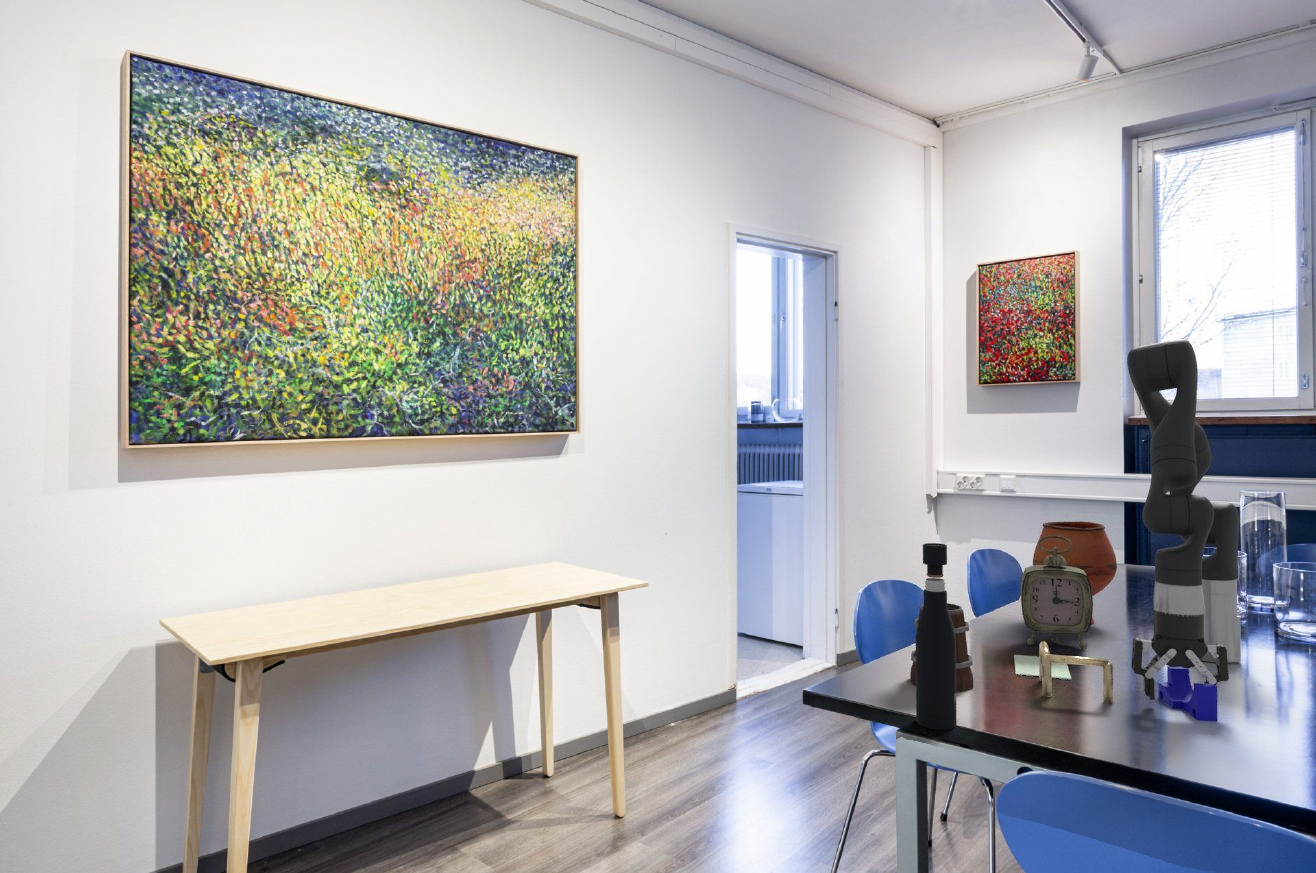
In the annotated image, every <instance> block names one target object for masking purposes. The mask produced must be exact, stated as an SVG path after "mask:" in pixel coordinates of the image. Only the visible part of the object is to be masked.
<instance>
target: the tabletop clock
mask: <svg viewBox="0 0 1316 873" xmlns="http://www.w3.org/2000/svg"><path fill="white" fill-rule="evenodd" d="M1048 538H1059V539H1063V540H1066V541H1067V542H1068V543H1069V544H1070V547H1069V549H1067V550H1063V551H1058V549H1057V548H1056V547H1054V548H1053V551H1049V550H1046V549H1043V548H1042V547H1041V546H1040V543H1041V542H1042V541H1043V540H1045V539H1048ZM1037 543H1038V546H1039V548H1040V549H1041V550H1042V551H1044V552H1046V553H1050V554H1053V555H1049V556H1047V557H1046V558H1045V559H1044V562H1043V565H1034V566H1033V565H1029V566H1027V567H1025V569H1024V570H1023V573H1022V576H1021V582H1020V603H1021V613H1022V619H1023V622H1024V624H1025V626H1026V628H1027V629H1029V630H1032V634H1031V637H1028V638H1027V639H1026V644H1027V645H1028V646H1033V645H1035V640H1034V639H1035V637H1036V635H1037V633H1038V632H1039V633H1045V634H1053V635H1052V636H1051V637H1050V640H1051V642H1052V643H1054V644H1056V643H1058V642H1059V640H1060V639H1059V636H1057V635H1074V636H1075V637H1076V638H1077V640H1078V641H1079V643H1078V647H1079V649H1081V650H1086V649H1087V647H1088V644H1087V643H1086V642H1085V641H1083V640H1082V637H1081V635H1082V634H1084V633H1087V632H1089V630H1090V627H1091V626H1092V624H1091V621H1092V618H1093V611H1094V608H1093V607H1094V601H1093V600H1094V598H1093V597H1094V596H1092V588H1091V584H1090V581H1089V579H1088V577H1087V575H1086V573H1085V572H1084V570H1081V569H1079V568H1076V567H1070V566H1068V565H1067V562H1066V560H1065V559H1064V558H1063V557H1062V556H1059V555H1058V554H1063V553H1067V552H1068V551H1070V550H1071V548H1072V543H1071V542H1070V540H1069V539H1067V538H1065V537H1063V536H1058V535H1049V536H1045V537H1043V538H1042V539H1040V541H1039V542H1038V541H1037Z"/></svg>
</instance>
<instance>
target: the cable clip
mask: <svg viewBox="0 0 1316 873" xmlns="http://www.w3.org/2000/svg"><path fill="white" fill-rule="evenodd" d="M1166 666H1167V665H1166ZM1166 668H1167V670H1166V675H1167V677H1166V678H1167V679H1166V680H1167V682H1164V681H1158V682H1157V685H1158V687H1157V688H1158V689H1157V690H1158V699H1159V698H1160V699H1159V700H1161V701H1162V702H1163V703H1165V704H1166V705H1167V704H1168V705H1167V706H1168V707H1169V708H1171V709H1174V710H1175V709H1176V710H1179V709H1180V710H1183V711H1184V712H1186V713H1187V714H1188V715H1189V716H1191V717H1192V718H1193V719H1194V720H1196V721H1198V722H1201V721H1202V722H1218V686H1217V684H1216V685H1214V684H1204V683H1203V682H1202V683H1198V682H1196V683H1195V682H1193V686H1192V683H1191V677H1190V669H1187V668H1183V667H1169V666H1167V667H1166Z"/></svg>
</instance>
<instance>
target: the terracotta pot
mask: <svg viewBox="0 0 1316 873" xmlns="http://www.w3.org/2000/svg"><path fill="white" fill-rule="evenodd" d="M1105 528H1106V527H1105V525H1104V524H1102V523H1096V522H1091V521H1083V520H1082V521H1051V522H1043V523H1042V530H1041V532H1040V536H1039V538H1038V541H1037V542H1036V546H1035V548H1034V552H1033V556H1032V566H1034V565H1043V562H1044V559H1045V558H1046V557H1047V556H1049V555H1053V554H1050V553H1046V552H1044V551H1042V550H1041V549H1040V548H1039V546H1038V542H1039V541H1040V539H1042V538H1043V537H1045V536H1049V535H1058V536H1063V537H1065V538H1067V539H1069V540H1070V542H1071V543H1072V548H1071V550H1070V551H1068V552H1067V553H1063V554H1058V555H1059V556H1062V557H1063V558H1064V559H1065V560H1066V562H1067V565H1068V566H1070V567H1076V568H1079V569H1081V570H1084V572H1085V573H1086V575H1087V577H1088V579H1089V581H1090V584H1091V588H1092V597H1094V596H1095V595H1097V594H1099V593H1100V592H1102V591H1104V589H1105V588H1106V587H1107V586H1108V585H1109V584H1110V583H1111V582H1112V581H1113V580H1114V578H1115V575H1116V573H1117V570H1118V565H1117V563H1118V561H1117V556H1116V554H1115V550H1114V548H1113V545H1112V543H1111V541H1110V539H1109V537H1108V535H1107V532H1106V529H1105ZM1040 546H1041V547H1042V548H1043V549H1046V550H1049V551H1053V548H1054V547H1056V548H1057V549H1058V551H1063V550H1067V549H1069V547H1070V544H1069V543H1068V542H1067V541H1066V540H1063V539H1059V538H1048V539H1045V540H1043V541H1042V542H1041V543H1040ZM1094 623H1095V619H1094V617H1092V621H1091V625H1092V624H1094Z"/></svg>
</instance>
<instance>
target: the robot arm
mask: <svg viewBox="0 0 1316 873" xmlns="http://www.w3.org/2000/svg"><path fill="white" fill-rule="evenodd" d="M1126 364H1127V371H1128V374H1129V377H1130V380H1131V383H1132V386H1133V388H1134V392H1136V395H1137V398H1138V401H1139V403H1140V405H1141V407H1142V409H1143V413H1144V414H1145V417H1146V421H1147V424H1148V427H1149V430H1150V435H1151V440H1150V444H1149V455H1150V468H1151V469H1150V470H1151V472H1150V473H1151V477H1150V485H1149V489H1148V492H1147V497H1146V499H1145V503H1144V505H1143V509H1142V523H1143V524H1144V526H1145V527H1146V529H1148V530H1149V532H1151V533H1153V534H1155V535H1157V534H1158V535H1177V536H1178V535H1179V537H1180V538H1181V540H1182V541H1183V542H1184V543H1182V544H1180V545H1175V546H1170V547H1163V548H1160V549H1158V550H1157V551H1156V552H1155V554H1154V586H1153V587H1154V588H1153V595H1152V596H1153V602H1152V605H1153V608H1152V609H1153V637H1152V638H1151V639H1149V640H1148V639H1140V638H1139V637H1137V636H1135V637H1134V638H1133V639H1132V650H1131V653H1132V654H1131V664H1130V665H1131V666H1130V667H1131V669H1132V670H1133V671H1132V672H1133V673H1134V674H1136V675H1140V676H1141V677H1143V692H1144V694H1145V696H1146V697H1147V698H1148V699H1149V701H1155V697H1156V696H1155V694H1156V693H1155V678H1154V676H1155V675H1156V674H1157V673H1158V672H1159V671H1161V670H1162V669H1163V668H1164V667H1165V666H1169V667H1183V668H1187V669H1189V670H1191V668H1194V667H1196V669H1197V670H1198V671H1199V672H1200V673H1201V675H1202V676H1203V677H1204V678H1205V680H1203V684H1214V685H1216V686H1217V684H1218V683H1221V682H1228V681H1229V680H1230V678H1229V677H1230V675H1229V665H1228V664H1230V663H1231V664H1232V663H1241V662H1242V658H1241V656H1242V654H1241V652H1242V650H1241V647H1242V646H1241V638H1242V637H1241V636H1242V634H1241V633H1242V632H1241V627H1242V626H1241V617H1240V615H1238V562H1239V559H1238V556H1239V553H1238V551H1239V550H1238V549H1239V533H1240V515H1239V511H1238V509H1237V506H1236V505H1235V504H1233V503H1231V502H1221V501H1220V502H1219V501H1211V500H1209V498H1207V497H1206V496H1204V495H1201V494H1193V493H1194V490H1195V489H1196V487H1197V486H1198V484H1199V483H1200V482H1201V481H1202V479H1203V478H1204V477H1205V475H1206V473H1207V472H1208V470H1209V468H1210V466H1211V464H1212V459H1213V457H1212V456H1213V455H1212V451H1211V448H1210V443H1209V440H1208V438H1207V437H1208V436H1207V434H1206V431H1205V430H1204V428H1203V427H1202V426H1201V425H1200V424H1199V423H1198V422H1197V421H1196V415H1197V414H1196V413H1197V400H1198V398H1197V396H1198V379H1199V378H1198V377H1199V373H1198V372H1199V371H1198V361H1197V356H1196V352H1195V350H1194V348H1193V345H1192V344H1191V342H1190V341H1189V340H1187V339H1185V338H1179V339H1178V338H1177V339H1170V340H1166V341H1161V342H1155V343H1150V344H1149V343H1148V344H1145V345H1140V346H1136V347H1134V348H1132V349H1130V350H1129V351H1128V353H1127V358H1126ZM1173 389H1176V392H1175V397H1174V398H1173V399H1174V400H1173V401H1172V403H1170V402H1169V401H1168V400H1167V399H1165V397H1164V396H1163V395H1162V393H1161V391H1166V390H1167V391H1168V390H1173ZM1207 545H1208V546H1215V547H1216V549H1215V552H1214V553H1213V554H1211V555H1209V556H1206V557H1204V551H1205V547H1206V546H1207ZM1149 648H1151V649H1152V650H1153V651H1154V653H1155V655H1154V656H1153V657H1152V658H1151V659H1150V661H1149V662H1148V664H1147V665H1146V666H1145V667H1144V666H1143V665H1142V663H1143V653H1146V652H1147V651H1148V649H1149ZM1202 661H1203V662H1208V663H1209V662H1210V663H1216V672H1213V673H1211V671H1210V670H1209V669H1208V668H1207V667H1206V665H1205V663H1203V662H1202Z"/></svg>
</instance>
